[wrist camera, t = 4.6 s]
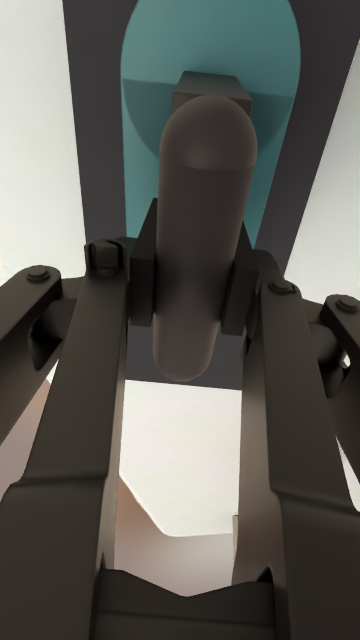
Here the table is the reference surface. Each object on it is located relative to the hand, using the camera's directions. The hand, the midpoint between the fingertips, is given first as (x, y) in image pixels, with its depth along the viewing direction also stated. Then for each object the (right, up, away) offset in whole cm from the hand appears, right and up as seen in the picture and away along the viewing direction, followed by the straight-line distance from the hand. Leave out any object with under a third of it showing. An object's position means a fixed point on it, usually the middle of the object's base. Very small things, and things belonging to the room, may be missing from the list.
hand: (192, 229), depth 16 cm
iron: (+1, +6, +4) cm, 7 cm away
